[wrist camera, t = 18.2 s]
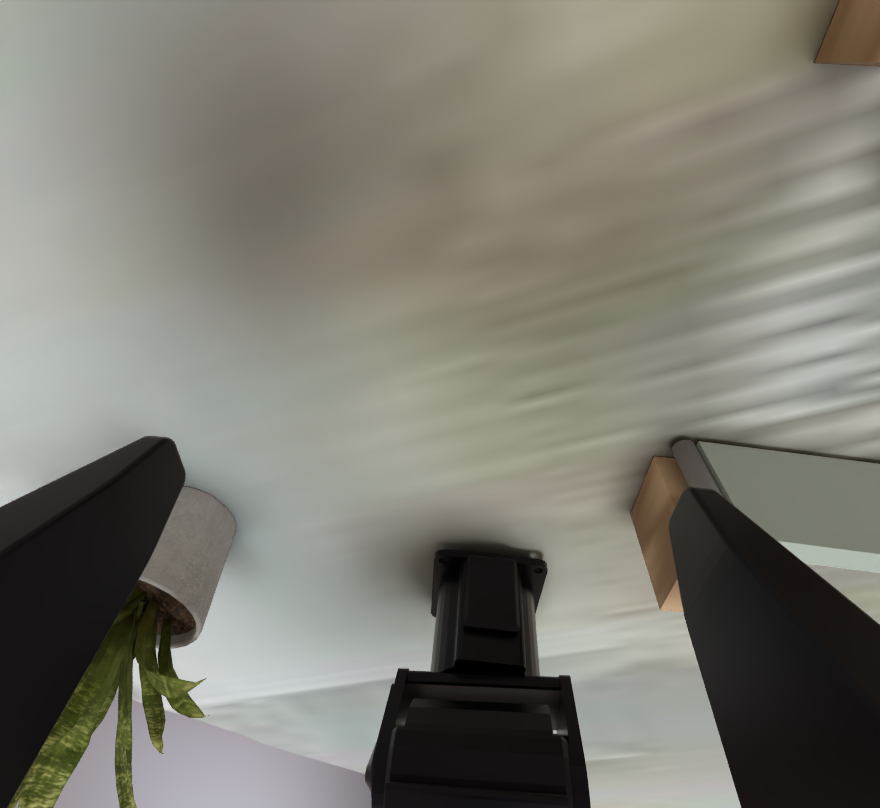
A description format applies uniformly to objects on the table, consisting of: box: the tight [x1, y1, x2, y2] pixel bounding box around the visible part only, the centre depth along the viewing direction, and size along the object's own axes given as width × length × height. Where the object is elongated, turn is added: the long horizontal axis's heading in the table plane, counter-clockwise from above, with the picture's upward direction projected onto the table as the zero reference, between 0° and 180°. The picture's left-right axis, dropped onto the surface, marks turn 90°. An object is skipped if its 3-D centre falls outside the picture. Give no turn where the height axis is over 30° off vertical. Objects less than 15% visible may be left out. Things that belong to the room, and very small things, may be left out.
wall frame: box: [630, 0, 880, 612], centre depth 17 cm, size 22×2×6 cm, turn 178°
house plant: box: [8, 487, 236, 808], centre depth 21 cm, size 14×14×16 cm
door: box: [672, 440, 880, 573], centre depth 20 cm, size 14×1×6 cm, turn 85°
